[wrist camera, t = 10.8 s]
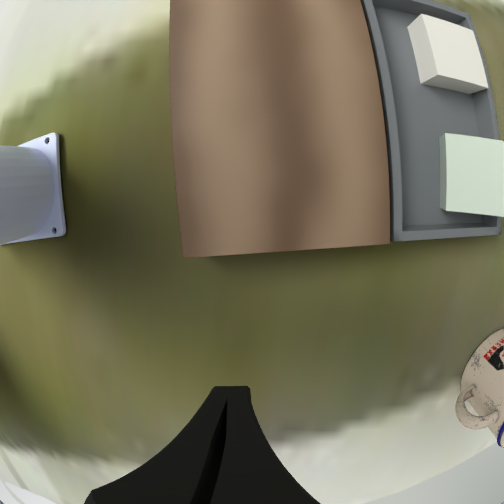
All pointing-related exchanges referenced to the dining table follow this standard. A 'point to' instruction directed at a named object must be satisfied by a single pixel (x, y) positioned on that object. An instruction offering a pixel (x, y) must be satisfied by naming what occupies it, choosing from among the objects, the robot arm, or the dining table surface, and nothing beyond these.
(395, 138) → the box
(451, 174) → the sage tile
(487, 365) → the teacup with lid
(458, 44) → the cream tile
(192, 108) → the walnut plate
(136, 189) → the dining table surface
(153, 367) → the dining table surface
